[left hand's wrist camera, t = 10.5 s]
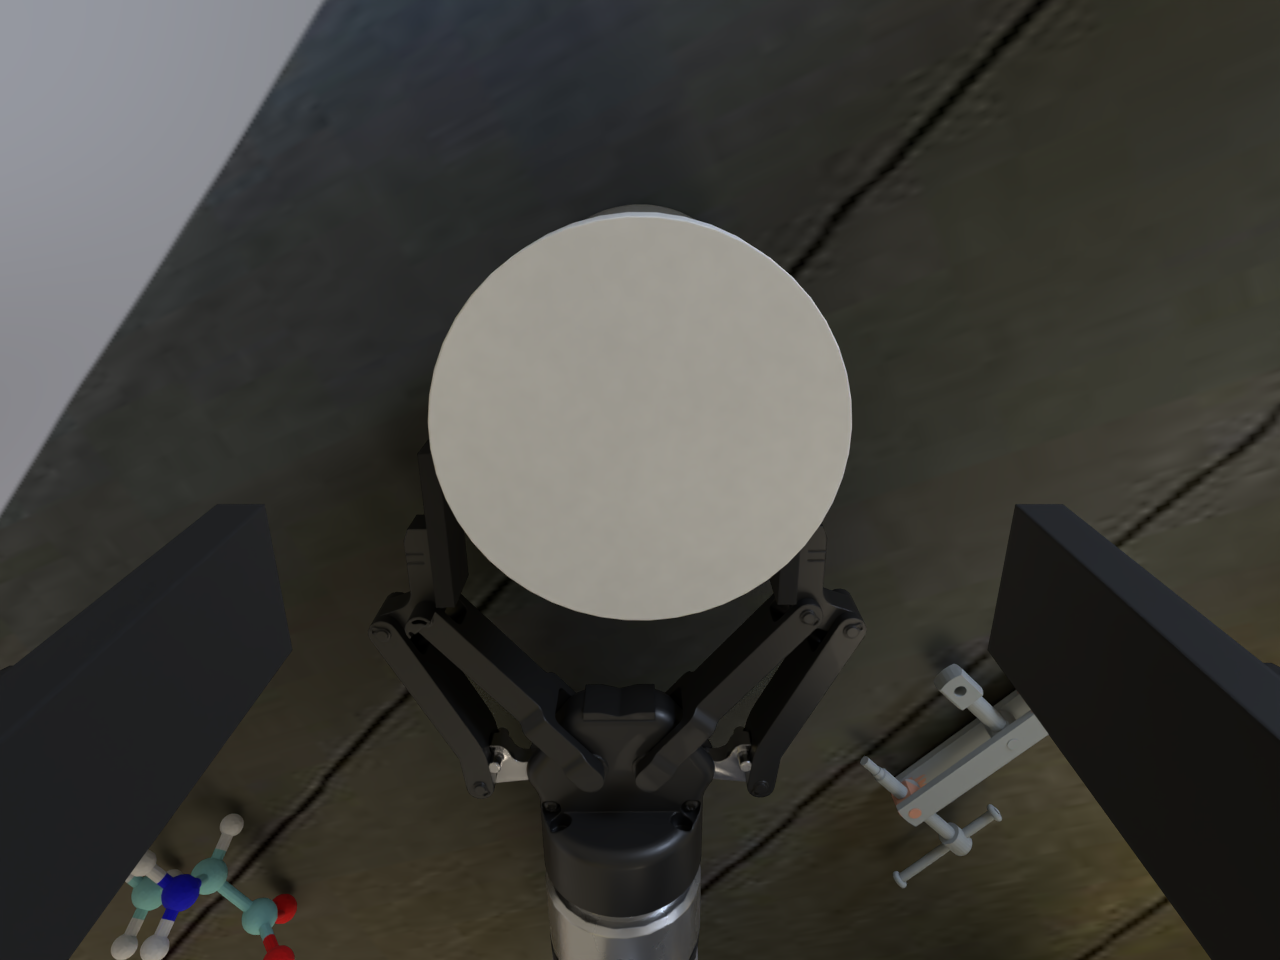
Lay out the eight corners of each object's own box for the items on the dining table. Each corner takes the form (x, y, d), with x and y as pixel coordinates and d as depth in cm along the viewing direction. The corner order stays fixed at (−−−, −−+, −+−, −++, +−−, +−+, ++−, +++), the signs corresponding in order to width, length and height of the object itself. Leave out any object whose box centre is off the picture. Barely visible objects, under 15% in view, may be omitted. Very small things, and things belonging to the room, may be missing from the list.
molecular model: (118, 986, 45) (46, 1085, 36) (122, 813, 47) (53, 866, 37) (331, 946, 49) (315, 1027, 39) (329, 786, 50) (314, 828, 41)
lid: (471, 597, 23) (458, 629, 22) (414, 224, 20) (394, 229, 18) (829, 580, 23) (843, 611, 22) (843, 199, 19) (862, 202, 18)
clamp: (1023, 637, 38) (1137, 751, 41) (1003, 613, 41) (1113, 723, 43) (792, 808, 42) (909, 902, 45) (785, 778, 45) (897, 870, 47)
